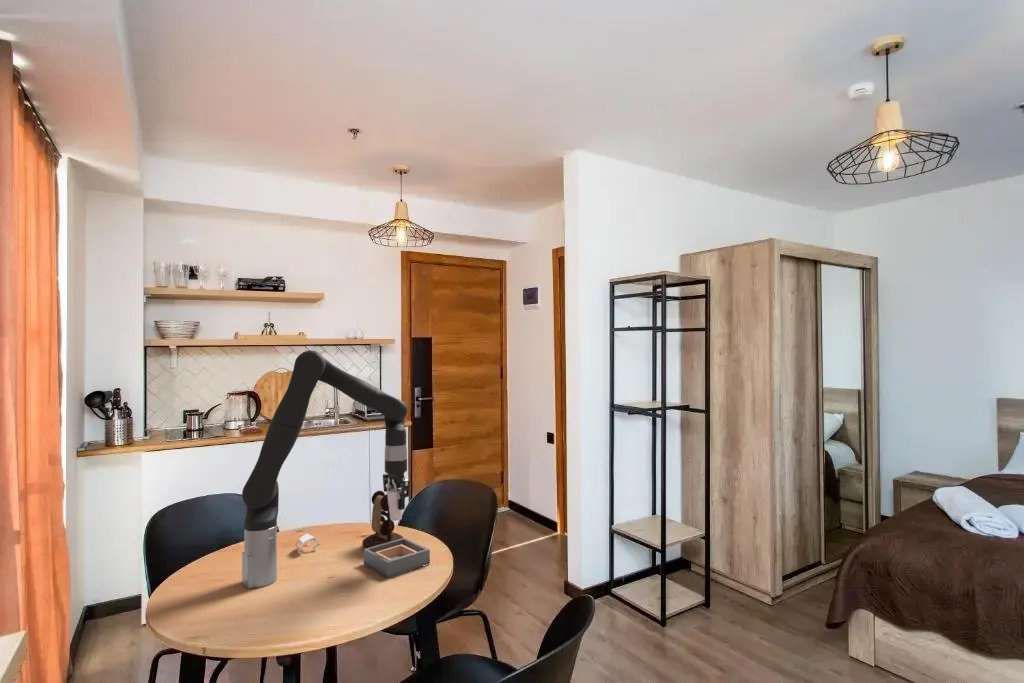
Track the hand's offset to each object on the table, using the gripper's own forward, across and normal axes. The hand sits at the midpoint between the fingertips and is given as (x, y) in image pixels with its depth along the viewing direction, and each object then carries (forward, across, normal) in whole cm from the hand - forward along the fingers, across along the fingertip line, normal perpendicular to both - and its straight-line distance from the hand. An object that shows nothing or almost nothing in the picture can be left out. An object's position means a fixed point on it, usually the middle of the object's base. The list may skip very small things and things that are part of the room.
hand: (396, 507), depth 179 cm
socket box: (+19, 0, 0) cm, 19 cm away
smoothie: (+4, 0, 0) cm, 4 cm away
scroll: (+20, -18, +5) cm, 27 cm away
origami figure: (+20, -34, -16) cm, 43 cm away
